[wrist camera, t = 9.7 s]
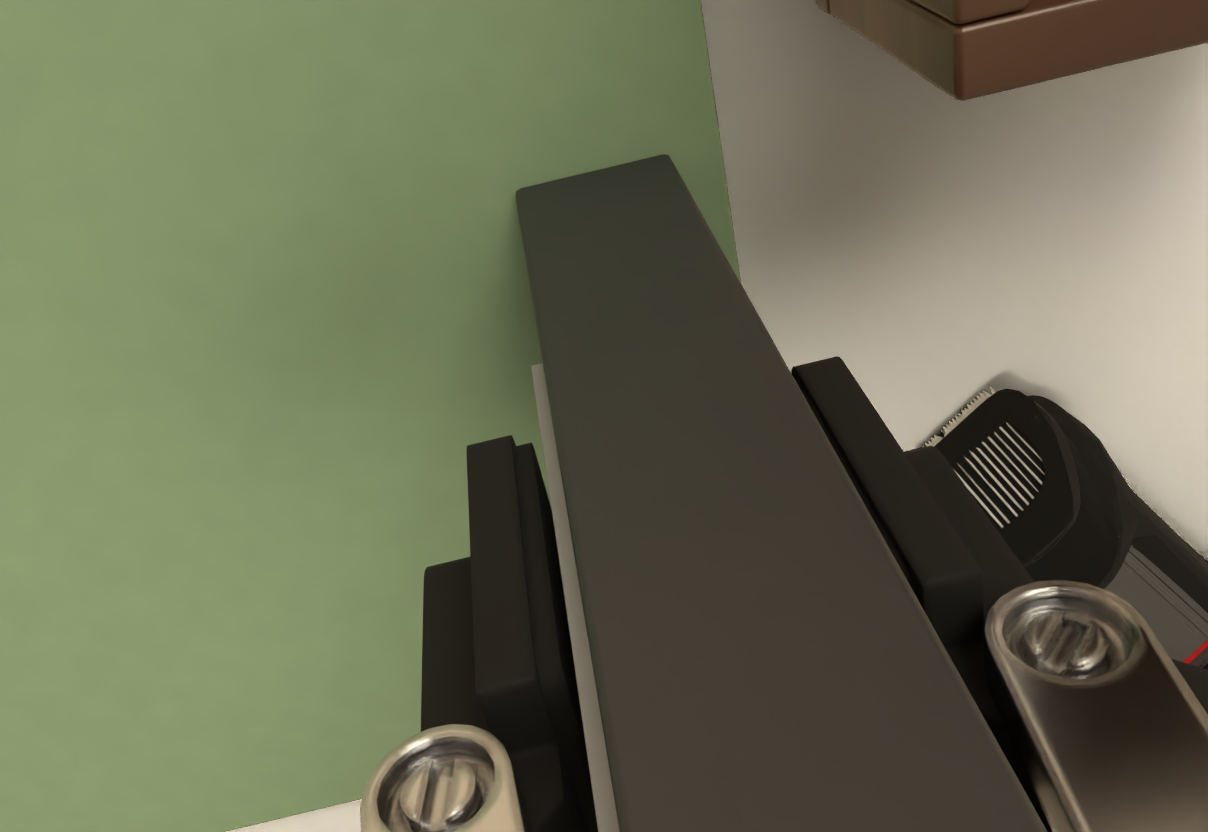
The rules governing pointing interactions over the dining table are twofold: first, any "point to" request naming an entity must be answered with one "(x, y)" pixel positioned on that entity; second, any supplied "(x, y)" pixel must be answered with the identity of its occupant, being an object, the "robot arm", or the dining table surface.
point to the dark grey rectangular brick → (726, 552)
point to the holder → (1019, 36)
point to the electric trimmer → (1077, 513)
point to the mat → (273, 364)
